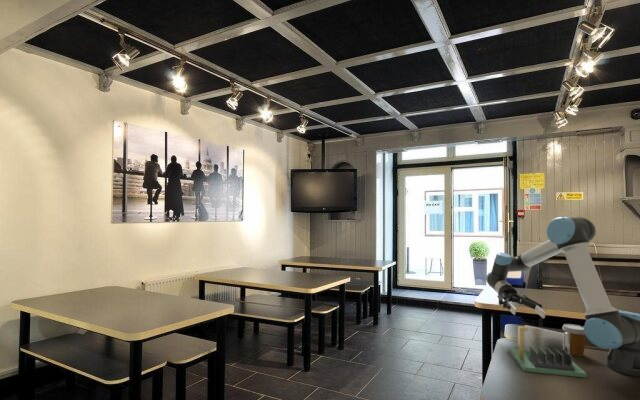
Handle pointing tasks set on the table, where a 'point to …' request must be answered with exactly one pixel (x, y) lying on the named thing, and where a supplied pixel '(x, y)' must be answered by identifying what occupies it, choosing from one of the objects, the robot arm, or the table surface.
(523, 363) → the motherboard
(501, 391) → the table surface
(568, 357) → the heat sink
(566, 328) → the disposable coffee cup
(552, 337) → the grey flat slab
